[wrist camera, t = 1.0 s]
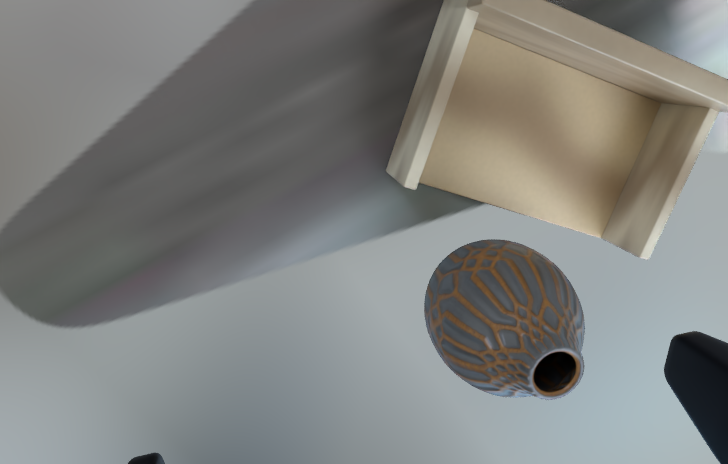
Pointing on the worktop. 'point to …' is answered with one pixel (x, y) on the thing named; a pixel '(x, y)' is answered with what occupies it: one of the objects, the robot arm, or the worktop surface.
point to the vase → (506, 320)
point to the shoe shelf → (556, 119)
